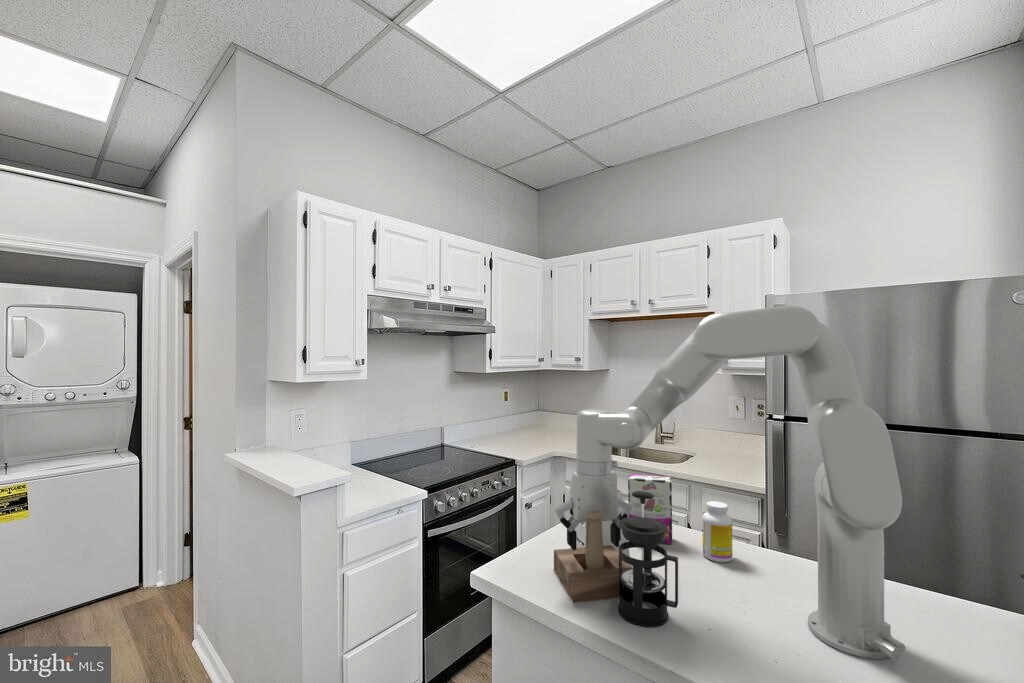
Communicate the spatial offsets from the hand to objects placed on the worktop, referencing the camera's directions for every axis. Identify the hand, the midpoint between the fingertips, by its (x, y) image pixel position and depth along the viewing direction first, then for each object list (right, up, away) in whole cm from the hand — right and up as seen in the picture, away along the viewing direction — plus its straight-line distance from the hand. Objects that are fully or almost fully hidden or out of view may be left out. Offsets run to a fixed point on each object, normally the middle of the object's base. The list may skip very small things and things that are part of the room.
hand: (593, 545), depth 100 cm
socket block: (0, -8, 0) cm, 8 cm away
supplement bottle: (+32, -8, +12) cm, 35 cm away
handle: (0, -7, 0) cm, 7 cm away
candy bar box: (+19, -8, +23) cm, 31 cm away
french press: (+8, -8, -12) cm, 16 cm away
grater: (+4, -8, +15) cm, 18 cm away
